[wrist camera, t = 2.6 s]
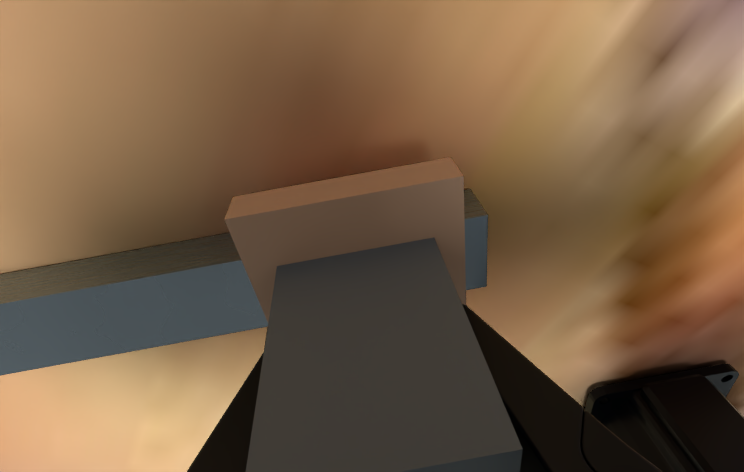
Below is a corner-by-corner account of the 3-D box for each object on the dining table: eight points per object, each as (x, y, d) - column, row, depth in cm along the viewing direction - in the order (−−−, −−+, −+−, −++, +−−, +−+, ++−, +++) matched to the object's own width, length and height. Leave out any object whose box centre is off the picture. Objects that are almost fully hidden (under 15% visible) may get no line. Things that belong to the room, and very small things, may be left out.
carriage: (449, 321, 13) (540, 572, 8) (303, 347, 13) (290, 620, 8) (439, 141, 10) (596, 369, 4) (240, 177, 10) (132, 455, 4)
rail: (470, 256, 13) (486, 286, 12) (-59, 352, 13) (-99, 393, 12) (470, 188, 12) (488, 215, 10) (-124, 296, 12) (-177, 336, 10)
